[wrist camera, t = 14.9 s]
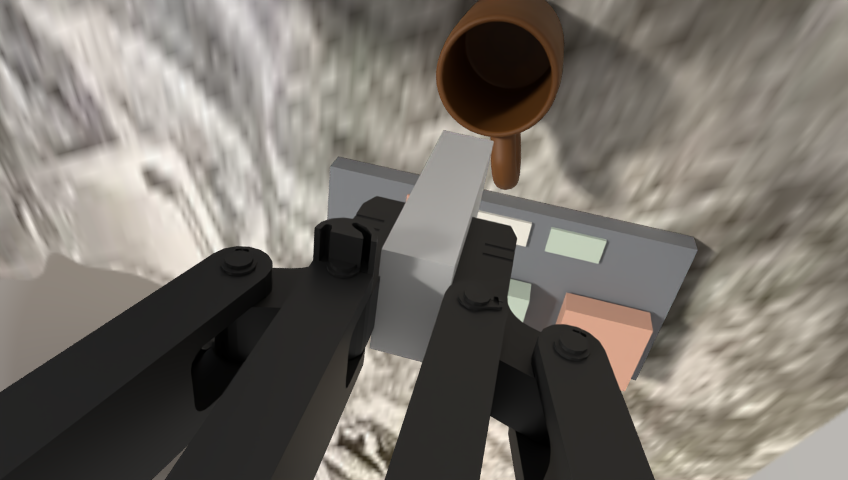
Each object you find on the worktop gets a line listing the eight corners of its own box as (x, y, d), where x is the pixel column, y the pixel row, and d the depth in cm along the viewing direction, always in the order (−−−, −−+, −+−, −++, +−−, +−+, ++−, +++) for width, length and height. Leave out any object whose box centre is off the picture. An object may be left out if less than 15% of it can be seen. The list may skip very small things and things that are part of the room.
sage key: (439, 325, 55) (433, 342, 53) (451, 264, 51) (446, 280, 49) (513, 344, 54) (511, 361, 52) (531, 283, 50) (529, 300, 48)
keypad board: (330, 288, 59) (321, 302, 57) (338, 156, 51) (328, 167, 49) (634, 365, 56) (636, 382, 54) (693, 237, 48) (698, 252, 46)
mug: (565, 146, 46) (563, 202, 38) (469, 149, 48) (448, 203, 40) (564, -20, 40) (561, 6, 32) (454, -9, 42) (425, 19, 34)
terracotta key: (545, 352, 54) (544, 370, 52) (566, 292, 50) (565, 309, 48) (623, 371, 53) (624, 391, 51) (649, 312, 49) (652, 331, 47)
